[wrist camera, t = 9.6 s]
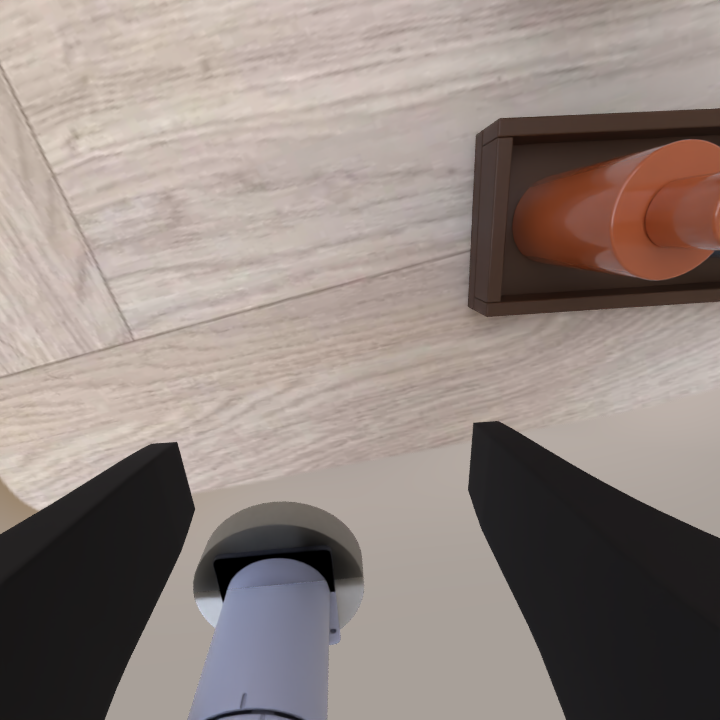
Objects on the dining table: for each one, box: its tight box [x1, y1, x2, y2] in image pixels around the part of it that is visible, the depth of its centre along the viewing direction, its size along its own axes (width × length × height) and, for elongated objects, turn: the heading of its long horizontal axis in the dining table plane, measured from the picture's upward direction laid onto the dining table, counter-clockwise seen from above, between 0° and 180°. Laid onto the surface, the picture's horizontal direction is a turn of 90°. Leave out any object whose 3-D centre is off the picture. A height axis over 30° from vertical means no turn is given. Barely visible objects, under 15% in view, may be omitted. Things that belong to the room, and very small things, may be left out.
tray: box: [468, 108, 720, 317], centre depth 16 cm, size 7×20×2 cm, turn 93°
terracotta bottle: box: [512, 139, 720, 280], centre depth 12 cm, size 4×4×8 cm
